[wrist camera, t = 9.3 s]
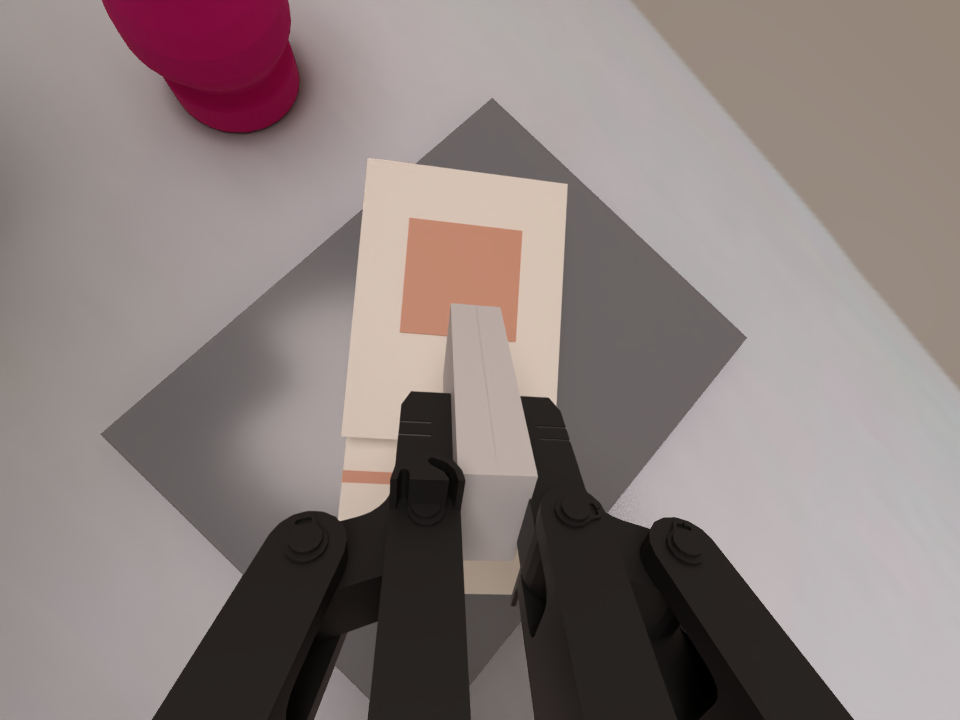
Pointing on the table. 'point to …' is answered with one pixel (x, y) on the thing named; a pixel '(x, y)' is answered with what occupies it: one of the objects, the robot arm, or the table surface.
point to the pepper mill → (216, 56)
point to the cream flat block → (449, 282)
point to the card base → (371, 487)
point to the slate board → (324, 363)
